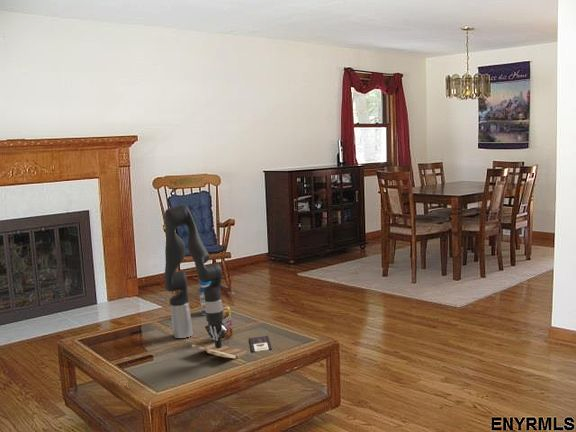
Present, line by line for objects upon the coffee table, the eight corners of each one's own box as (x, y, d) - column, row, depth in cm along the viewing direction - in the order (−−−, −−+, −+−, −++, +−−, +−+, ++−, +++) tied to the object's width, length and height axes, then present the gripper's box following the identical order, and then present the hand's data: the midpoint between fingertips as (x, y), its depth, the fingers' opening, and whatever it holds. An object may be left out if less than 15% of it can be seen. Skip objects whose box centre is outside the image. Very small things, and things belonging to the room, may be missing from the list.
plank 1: (191, 346, 268) (192, 344, 268) (204, 350, 273) (204, 347, 274) (206, 350, 261) (206, 347, 261) (218, 353, 267) (219, 351, 267)
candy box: (217, 342, 283) (213, 311, 281) (213, 340, 287) (209, 310, 284) (233, 337, 288) (230, 307, 286) (229, 335, 291) (226, 305, 289)
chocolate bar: (267, 335, 284) (271, 348, 266) (268, 337, 284) (271, 350, 267) (249, 338, 283) (251, 351, 265) (249, 340, 283) (252, 353, 266)
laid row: (204, 350, 274) (204, 347, 274) (214, 345, 279) (214, 343, 279) (237, 358, 260) (236, 356, 259) (247, 353, 264) (247, 351, 264)
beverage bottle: (219, 312, 332) (215, 277, 329) (208, 316, 325) (204, 281, 323) (209, 310, 337) (205, 276, 334) (198, 314, 331) (194, 280, 328)
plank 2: (207, 352, 260) (207, 349, 261) (220, 354, 266) (220, 351, 266) (222, 356, 254) (223, 353, 254) (235, 358, 260) (235, 355, 260)
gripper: (197, 310, 258) (202, 348, 260) (217, 314, 249) (222, 353, 252) (210, 305, 263) (214, 342, 266) (230, 309, 255) (235, 347, 257)
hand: (218, 347), depth 259 cm, fingers closed
